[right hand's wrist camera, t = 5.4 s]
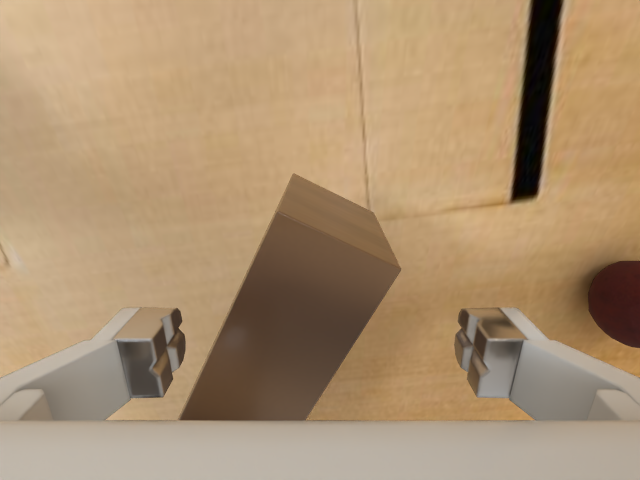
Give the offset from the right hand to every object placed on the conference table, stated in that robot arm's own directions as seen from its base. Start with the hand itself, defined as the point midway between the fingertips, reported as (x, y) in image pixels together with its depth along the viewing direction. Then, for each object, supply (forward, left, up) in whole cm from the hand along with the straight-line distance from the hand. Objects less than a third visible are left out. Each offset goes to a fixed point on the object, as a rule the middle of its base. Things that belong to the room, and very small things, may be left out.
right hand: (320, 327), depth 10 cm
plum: (-18, +24, -23) cm, 38 cm away
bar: (+11, +7, -13) cm, 18 cm away
